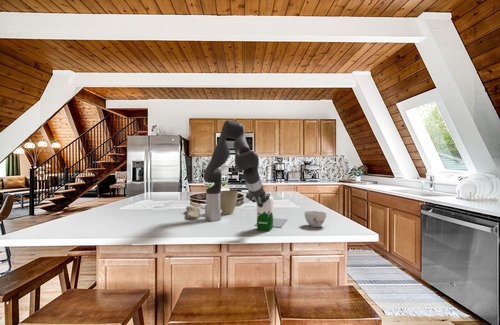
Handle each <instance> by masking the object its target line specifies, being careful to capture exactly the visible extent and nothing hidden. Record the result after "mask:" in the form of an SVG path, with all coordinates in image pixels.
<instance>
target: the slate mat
mask: <svg viewBox="0 0 500 325" xmlns="http://www.w3.org/2000/svg"><path fill="white" fill-rule="evenodd" d="M286 222H288V219H287V218H275V217H273V228H276V229H277V228H278V229H279V228H280V229H281V228H282V227H283V226H284V225H285V223H286ZM254 226H255V227H257V222H256V223H255V224H254Z"/></svg>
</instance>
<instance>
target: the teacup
mask: <svg viewBox="0 0 500 325" xmlns="http://www.w3.org/2000/svg"><path fill="white" fill-rule="evenodd" d="M303 214H304V218H305V220H306V222H307V224H308V225H309V227H312V228H321V227H322V225H323V224H324V223H325V220H326V217H327V213H326V212H323V211H318V210H317V211H316V210H308V211H307V210H306V211H304V213H303Z"/></svg>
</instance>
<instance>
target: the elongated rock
mask: <svg viewBox="0 0 500 325" xmlns="http://www.w3.org/2000/svg"><path fill="white" fill-rule="evenodd" d="M185 209H186V217H187V220H190V221H197V220H198V219H199V218H200V216H201V209H200V208H199V207H196V206H191V205H189V206H186V207H185Z"/></svg>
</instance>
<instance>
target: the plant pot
mask: <svg viewBox="0 0 500 325" xmlns="http://www.w3.org/2000/svg"><path fill="white" fill-rule="evenodd" d="M238 194H239V191H237V190H221V213H222V214H223V215H232V214H234V210H235V208H236V206H237V201H238Z"/></svg>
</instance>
